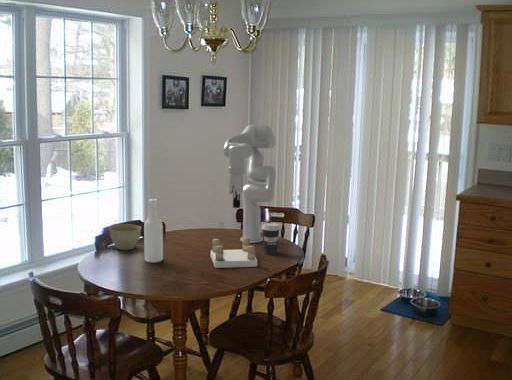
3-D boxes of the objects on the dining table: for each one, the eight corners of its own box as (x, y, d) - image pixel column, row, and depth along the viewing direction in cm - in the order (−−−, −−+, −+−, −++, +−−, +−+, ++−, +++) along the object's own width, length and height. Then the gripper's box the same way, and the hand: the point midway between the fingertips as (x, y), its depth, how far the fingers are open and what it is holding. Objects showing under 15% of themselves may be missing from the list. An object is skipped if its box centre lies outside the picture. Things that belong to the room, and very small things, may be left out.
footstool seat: (210, 256, 294) (210, 249, 293) (249, 254, 298) (250, 248, 297) (215, 267, 274) (215, 261, 274) (257, 266, 278) (257, 259, 278)
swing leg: (214, 254, 285) (214, 242, 284) (221, 254, 285) (221, 241, 284) (216, 260, 275) (216, 247, 274) (223, 260, 275) (223, 247, 274)
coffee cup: (257, 254, 300) (258, 225, 297) (266, 249, 308) (266, 221, 305) (274, 256, 295) (275, 227, 293) (282, 252, 304) (283, 223, 301)
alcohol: (161, 257, 290) (161, 197, 285) (164, 262, 282) (163, 200, 277) (143, 258, 288) (142, 198, 283) (145, 263, 279) (145, 201, 274)
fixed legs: (212, 250, 293) (212, 238, 292) (248, 249, 296) (249, 237, 295) (216, 261, 275) (216, 248, 274) (255, 259, 278) (255, 247, 277)
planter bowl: (137, 252, 298) (137, 231, 297) (106, 251, 299) (105, 230, 297) (144, 244, 314) (144, 224, 312) (114, 243, 315) (113, 223, 313)
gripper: (233, 167, 293) (233, 203, 297) (224, 172, 279) (224, 210, 283) (247, 168, 292) (247, 204, 295) (240, 173, 277) (240, 211, 281)
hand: (236, 207), depth 289 cm, fingers closed
